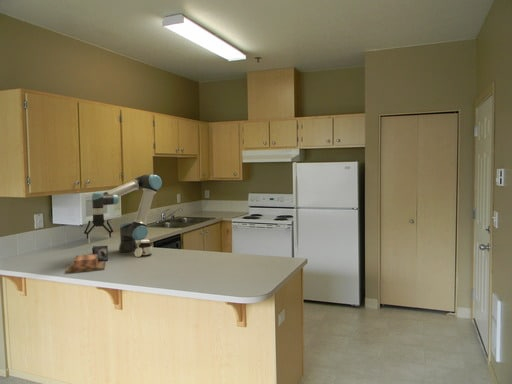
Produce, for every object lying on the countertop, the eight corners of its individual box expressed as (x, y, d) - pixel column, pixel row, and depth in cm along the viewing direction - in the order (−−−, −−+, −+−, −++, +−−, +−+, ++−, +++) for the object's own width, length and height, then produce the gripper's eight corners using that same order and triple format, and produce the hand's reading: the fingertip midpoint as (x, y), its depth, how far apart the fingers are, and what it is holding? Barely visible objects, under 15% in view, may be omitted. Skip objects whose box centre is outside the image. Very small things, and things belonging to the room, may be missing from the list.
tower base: (105, 263, 302) (105, 253, 301) (104, 269, 283) (103, 258, 283) (69, 266, 294) (68, 255, 294) (65, 273, 276) (65, 262, 276)
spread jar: (153, 254, 328) (153, 239, 327) (148, 257, 317) (147, 242, 316) (138, 254, 330) (138, 239, 329) (133, 257, 318) (132, 242, 317)
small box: (92, 262, 306) (91, 248, 305) (93, 260, 312) (92, 246, 311) (107, 261, 309) (107, 246, 308) (108, 259, 315) (107, 245, 314)
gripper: (79, 215, 300) (80, 244, 302) (115, 213, 308) (116, 242, 309) (80, 214, 307) (81, 242, 309) (116, 212, 315) (117, 240, 316)
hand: (99, 242), depth 309 cm, fingers open, 13 cm apart
